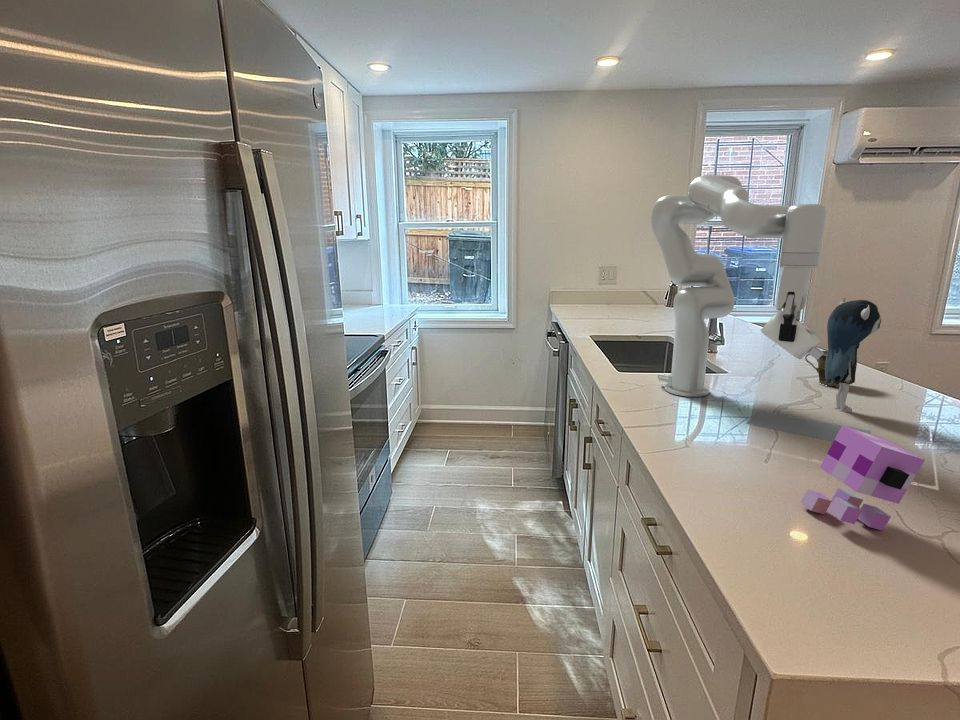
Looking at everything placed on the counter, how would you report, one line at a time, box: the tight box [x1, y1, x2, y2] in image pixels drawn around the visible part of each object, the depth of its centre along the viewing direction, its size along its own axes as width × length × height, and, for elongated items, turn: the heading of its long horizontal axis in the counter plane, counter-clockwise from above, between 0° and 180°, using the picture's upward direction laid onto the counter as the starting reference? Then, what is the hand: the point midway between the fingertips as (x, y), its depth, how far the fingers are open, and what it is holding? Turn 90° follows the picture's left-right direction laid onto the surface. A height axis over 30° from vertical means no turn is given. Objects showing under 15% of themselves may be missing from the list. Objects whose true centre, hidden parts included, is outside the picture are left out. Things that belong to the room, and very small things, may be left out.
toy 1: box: [824, 297, 883, 413], centre depth 131 cm, size 14×11×30 cm
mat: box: [746, 409, 870, 442], centre depth 123 cm, size 24×13×1 cm, turn 50°
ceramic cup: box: [804, 349, 840, 388], centre depth 159 cm, size 13×10×10 cm
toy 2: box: [800, 425, 925, 531], centre depth 82 cm, size 11×8×15 cm
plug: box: [760, 309, 824, 361], centre depth 118 cm, size 13×4×6 cm
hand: (788, 338), depth 119 cm, fingers closed on plug, 4 cm apart
